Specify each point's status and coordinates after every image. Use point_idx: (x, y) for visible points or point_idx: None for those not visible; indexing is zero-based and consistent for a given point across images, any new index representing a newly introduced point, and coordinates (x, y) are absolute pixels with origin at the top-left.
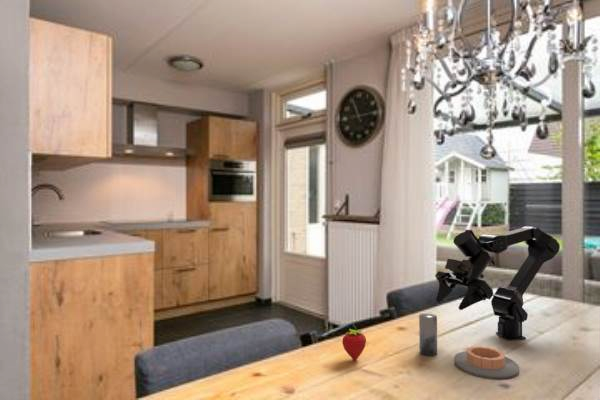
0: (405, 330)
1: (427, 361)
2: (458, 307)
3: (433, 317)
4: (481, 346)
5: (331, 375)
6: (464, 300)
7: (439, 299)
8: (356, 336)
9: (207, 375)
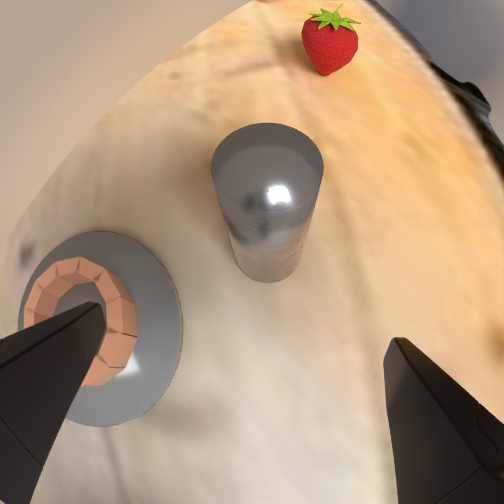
0: (482, 346)
1: (217, 196)
2: (98, 303)
3: (224, 166)
4: (102, 370)
5: (278, 31)
6: (25, 331)
7: (394, 371)
8: (315, 20)
9: None
